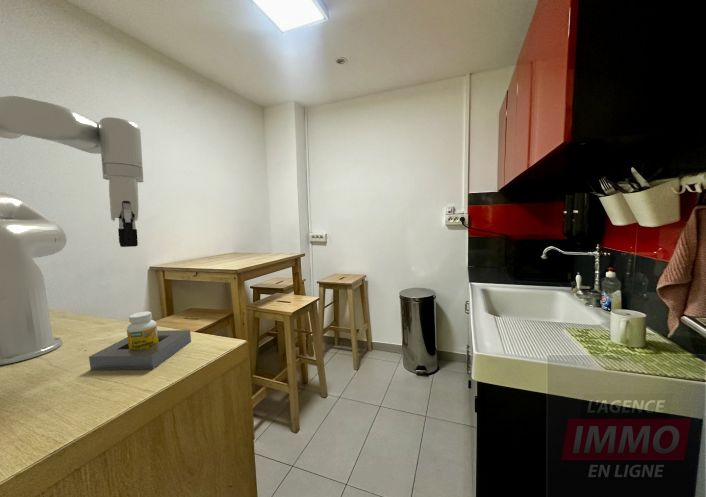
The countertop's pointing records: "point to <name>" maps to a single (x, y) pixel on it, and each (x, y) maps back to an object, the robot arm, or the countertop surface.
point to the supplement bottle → (142, 331)
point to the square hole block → (140, 353)
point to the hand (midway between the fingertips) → (128, 245)
